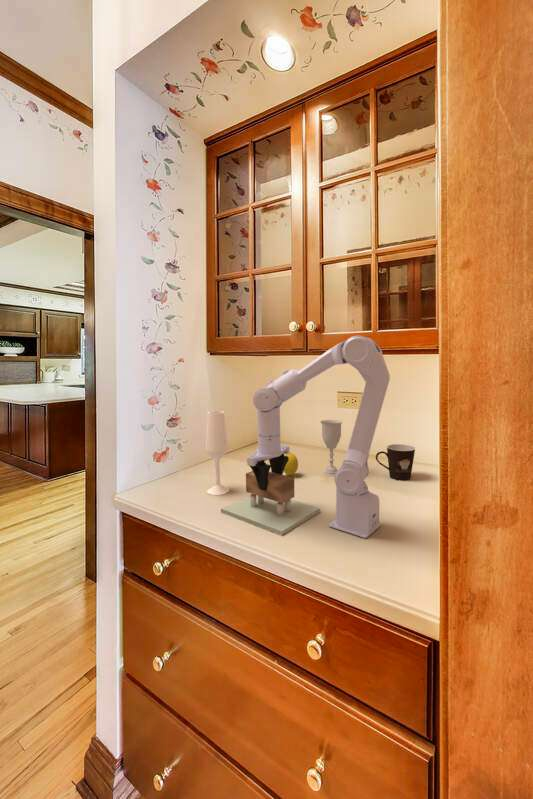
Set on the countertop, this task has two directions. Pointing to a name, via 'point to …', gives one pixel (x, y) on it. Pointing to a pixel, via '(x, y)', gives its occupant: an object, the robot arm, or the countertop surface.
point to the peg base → (271, 513)
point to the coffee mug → (399, 461)
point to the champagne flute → (216, 445)
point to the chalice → (331, 441)
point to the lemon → (291, 464)
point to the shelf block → (272, 487)
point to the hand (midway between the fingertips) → (269, 486)
